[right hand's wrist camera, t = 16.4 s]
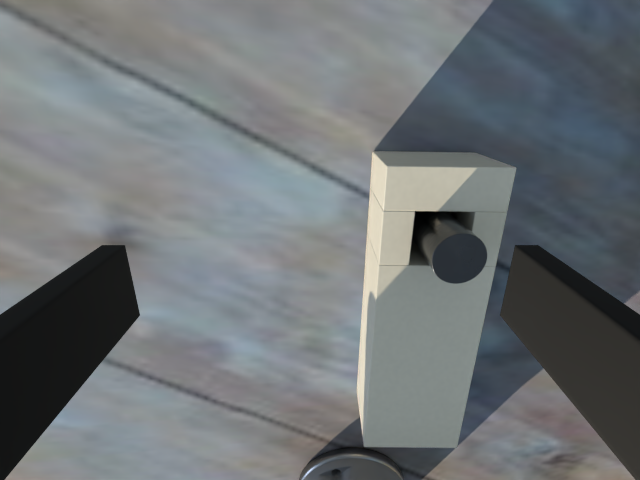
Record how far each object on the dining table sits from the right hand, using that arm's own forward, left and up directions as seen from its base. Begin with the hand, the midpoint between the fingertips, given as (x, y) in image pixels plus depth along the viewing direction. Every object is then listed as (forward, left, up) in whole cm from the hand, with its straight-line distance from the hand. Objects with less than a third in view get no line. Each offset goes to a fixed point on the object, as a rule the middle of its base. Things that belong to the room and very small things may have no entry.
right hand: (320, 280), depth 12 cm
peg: (+5, +10, -25) cm, 27 cm away
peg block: (+14, +10, -25) cm, 30 cm away
